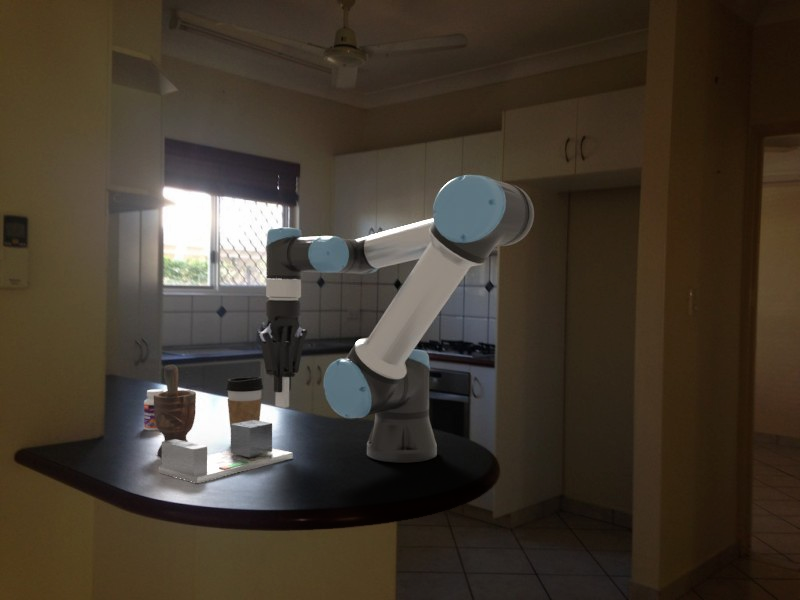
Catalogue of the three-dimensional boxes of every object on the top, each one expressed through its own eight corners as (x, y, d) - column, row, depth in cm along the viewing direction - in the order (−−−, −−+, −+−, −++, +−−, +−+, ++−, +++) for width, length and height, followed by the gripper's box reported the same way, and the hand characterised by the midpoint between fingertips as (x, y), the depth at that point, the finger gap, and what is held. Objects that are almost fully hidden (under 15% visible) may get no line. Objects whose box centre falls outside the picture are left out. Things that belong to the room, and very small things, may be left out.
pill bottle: (139, 430, 172) (139, 391, 172) (152, 426, 177) (152, 388, 177) (158, 431, 171) (158, 392, 171) (170, 427, 176) (170, 389, 176)
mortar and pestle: (204, 458, 145) (204, 363, 144) (161, 464, 140) (161, 365, 140) (190, 447, 154) (190, 358, 154) (150, 452, 150) (149, 360, 150)
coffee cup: (254, 447, 155) (254, 380, 155) (219, 445, 157) (219, 379, 157) (268, 439, 163) (268, 375, 163) (235, 437, 165) (235, 374, 165)
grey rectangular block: (279, 453, 143) (279, 424, 143) (257, 459, 139) (257, 429, 138) (253, 447, 148) (253, 419, 148) (230, 452, 144) (230, 424, 144)
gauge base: (292, 458, 145) (292, 429, 145) (197, 484, 126) (197, 450, 126) (254, 449, 153) (254, 421, 153) (158, 472, 134) (158, 441, 133)
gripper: (293, 298, 158) (291, 400, 159) (248, 298, 148) (247, 408, 148) (316, 299, 154) (315, 404, 154) (272, 300, 143) (271, 413, 144)
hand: (282, 406), depth 151 cm, fingers closed
